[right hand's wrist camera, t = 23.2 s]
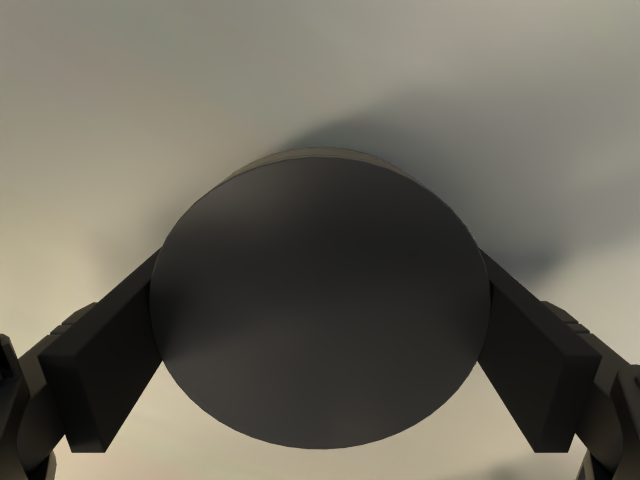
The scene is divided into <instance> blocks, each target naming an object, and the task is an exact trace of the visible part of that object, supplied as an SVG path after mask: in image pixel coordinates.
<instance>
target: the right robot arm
mask: <svg viewBox="0 0 640 480" xmlns="http://www.w3.org/2000/svg"><path fill="white" fill-rule="evenodd" d="M161 248H162V247H161ZM161 248H160V249H159V250H158V251H156V252H155V253H154V254H153V255H152V256H151V257H150V258H148V259H147V260H146V261H145V262H144V263H143V264H141V265H140V266H139V267H138V268H137V269H136V270H135V271H133V272H132V273H131V274H130V275H129V276H128V277H127V278H125V279H124V280H123V281H122V282H121V283H120V284H119V285H117V286H116V287H115V288H114V289H113V290H112V291H111V292H109V293H108V294H107V295H106V296H105V297H104V298H103V299H101V300H100V301H99V302H93V303H91V304H89V305H87V306H86V307H84V308H82V309H80V310H78V311H76V312H74V313H73V314H72V315H71V316H70V317H68V318H67V319H66V320H65V321H64V322H62V325H59V326H58V327H56V328H55V329H54V330H53V331H52V332H50V335H47V336H45V337H44V338H43V339H42V340H41V341H39V342H38V343H37V344H36V345H35V346H33V347H32V348H31V349H30V350H29V351H27V352H26V353H25V354H24V355H23V356H21V357H20V358H19V359H17V356H16V354H15V351H14V348H13V346H12V343H11V341H10V338H9V337H8V336H6V335H4V334H0V480H54V478H55V471H56V465H57V464H56V457H55V454H54V452H53V449H54V447H55V446H56V445H57V444H58V442H59V441H60V440H61V439H62V437H63V436H64V435H66V438H67V441H68V444H69V446H70V449H71V452H72V453H105V452H106V450H107V448H108V447H109V445H110V444H111V442H112V440H113V439H114V437H115V436H116V434H117V432H118V431H119V429H120V428H121V426H122V424H123V423H124V421H125V420H126V418H127V416H128V415H129V413H130V412H131V410H132V408H133V407H134V405H135V404H136V402H137V400H138V399H139V397H140V396H141V394H142V392H143V391H144V389H145V388H146V386H147V384H148V383H149V381H150V380H151V378H152V376H153V375H154V373H155V372H156V370H157V368H158V367H159V365H160V364H161V362H162V358H161V356H160V354H159V352H158V349H157V346H156V343H155V340H154V337H153V332H152V327H151V322H150V316H149V292H150V285H151V277H152V273H153V270H154V267H155V263H156V260H157V257H158V255H159V253H160V250H161ZM478 248H479V247H478ZM479 251H480V253H481V256H482V258H483V260H484V263H485V266H486V271H487V275H488V279H489V283H490V296H491V310H490V320H489V325H488V330H487V335H486V339H485V343H484V345H483V348H482V350H481V353H480V355H479V358H478V360H477V361H478V363H479V364H480V366H481V367H482V369H483V371H484V372H485V374H486V375H487V377H488V379H489V380H490V382H491V383H492V385H493V387H494V388H495V390H496V391H497V393H498V395H499V396H500V398H501V399H502V401H503V403H504V404H505V406H506V407H507V409H508V411H509V412H510V414H511V415H512V417H513V419H514V420H515V422H516V423H517V425H518V427H519V428H520V430H521V431H522V433H523V435H524V436H525V438H526V439H527V441H528V443H529V444H530V446H531V447H532V449H533V451H534V452H535V453H568V451H569V448H570V445H571V443H572V440H573V437H574V434H575V433H576V434H577V436H578V437H579V438H580V440H581V441H582V442H583V443H584V445H585V446H586V447H587V448H588V449H587V452H586V454H585V457H584V459H583V462H582V464H581V467H580V470H579V472H578V475H577V477H576V480H640V365H630V364H629V363H628V362H627V361H625V360H624V359H623V358H622V357H620V356H619V355H618V354H617V353H616V352H614V351H613V350H612V349H611V348H610V347H608V346H607V345H606V344H605V343H603V342H602V341H601V340H600V339H599V338H597V337H596V336H595V335H594V334H590V331H589V330H588V329H586V328H585V327H584V326H583V325H582V324H579V323H578V321H577V320H576V319H574V318H573V317H572V316H571V315H569V314H568V313H567V312H566V311H565V310H563V309H561V308H559V307H557V306H555V305H553V304H551V303H549V302H547V301H539V300H538V299H537V298H536V297H535V296H534V295H532V294H531V293H530V292H529V291H528V290H527V289H526V288H524V287H523V286H522V285H521V284H520V283H519V282H518V281H516V280H515V279H514V278H513V277H512V276H511V275H510V274H508V273H507V272H506V271H505V270H504V269H503V268H502V267H500V266H499V265H498V264H497V263H496V262H495V261H493V260H492V259H491V258H490V257H489V256H488V255H487V254H485V253H484V252H483V251H482V250H481V249H480V248H479Z"/></svg>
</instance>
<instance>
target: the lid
mask: <svg viewBox="0 0 640 480" xmlns="http://www.w3.org/2000/svg"><path fill="white" fill-rule="evenodd" d="M490 310H491V296H490V283H489V279H488V275H487V271H486V266H485V263H484V260H483V258H482V256H481V253H480V251H479V248H478V246H477V244H476V242H475V240H474V239H473V237H472V236H471V234H470V232H469V231H468V229H467V227H466V226H465V225H464V223H463V222H462V221H461V220H460V219H459V217H458V216H457V215H456V214H455V213H454V211H453V210H452V209H451V208H450V207H449V206H448V205H446V204H445V203H444V202H443V201H442V200H441V199H440V198H438V197H437V196H436V195H435V194H434V193H433V192H431V191H430V190H429V189H427V188H426V187H425V186H423V185H422V184H421V183H419V182H418V181H417V180H415V179H414V178H413V177H411V176H410V175H408V174H406V173H405V172H403V171H402V170H400V169H399V168H397V167H396V166H394V165H392V164H389V163H387V162H385V161H383V160H381V159H379V158H377V157H373V156H370V155H367V154H364V153H360V152H357V151H352V150H346V149H339V148H325V147H310V148H301V149H292V150H288V151H284V152H280V153H276V154H272V155H269V156H267V157H264V158H262V159H259V160H257V161H254V162H252V163H250V164H248V165H247V166H245V167H243V168H241V169H240V170H238V171H236V172H234V173H233V174H232V175H230V176H229V177H228V178H226V179H225V180H224V181H222V182H221V183H220V184H218V185H217V186H216V187H214V188H213V189H212V190H210V191H209V192H208V193H207V194H205V195H204V196H203V197H202V198H200V199H199V200H198V201H196V202H195V203H194V204H193V205H192V206H191V207H190V209H189V210H188V211H187V212H186V213H185V214H184V215H183V216H182V217H181V218H180V219H179V220H178V222H177V223H176V225H175V226H174V228H173V229H172V231H171V232H170V233H169V235H168V236H167V238H166V240H165V242H164V244H163V246H162V248H161V250H160V253H159V255H158V257H157V260H156V263H155V267H154V270H153V273H152V277H151V285H150V292H149V316H150V322H151V327H152V332H153V337H154V340H155V343H156V346H157V349H158V352H159V354H160V356H161V358H162V360H163V362H164V364H165V366H166V368H167V370H168V371H169V373H170V374H171V375H172V377H173V378H174V380H175V381H176V383H177V384H178V385H179V387H180V388H181V389H182V390H183V391H184V392H185V393H186V394H187V396H188V397H189V398H190V399H191V400H192V401H194V402H195V403H196V404H197V405H198V406H199V407H200V408H201V409H203V410H204V411H205V412H206V413H208V414H209V415H211V416H212V417H214V418H215V419H216V420H218V421H219V422H221V423H223V424H225V425H227V426H228V427H230V428H232V429H234V430H236V431H238V432H240V433H243V434H245V435H248V436H250V437H252V438H255V439H259V440H262V441H265V442H268V443H272V444H277V445H282V446H286V447H294V448H303V449H336V448H347V447H352V446H358V445H364V444H367V443H371V442H375V441H378V440H382V439H384V438H387V437H389V436H392V435H395V434H397V433H400V432H402V431H404V430H406V429H407V428H409V427H411V426H413V425H415V424H417V423H418V422H420V421H422V420H423V419H425V418H426V417H428V416H429V415H431V414H432V413H433V412H434V411H436V410H437V409H438V408H439V407H441V406H442V405H443V404H444V403H445V402H446V401H447V400H448V399H449V398H450V397H451V396H452V395H453V394H454V393H455V392H456V391H457V390H458V389H459V388H460V386H461V385H462V384H463V382H464V381H465V380H466V378H467V377H468V376H469V374H470V372H471V371H472V369H473V367H474V365H475V363H476V362H477V360H478V358H479V355H480V353H481V350H482V348H483V345H484V343H485V339H486V335H487V330H488V325H489V320H490Z"/></svg>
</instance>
